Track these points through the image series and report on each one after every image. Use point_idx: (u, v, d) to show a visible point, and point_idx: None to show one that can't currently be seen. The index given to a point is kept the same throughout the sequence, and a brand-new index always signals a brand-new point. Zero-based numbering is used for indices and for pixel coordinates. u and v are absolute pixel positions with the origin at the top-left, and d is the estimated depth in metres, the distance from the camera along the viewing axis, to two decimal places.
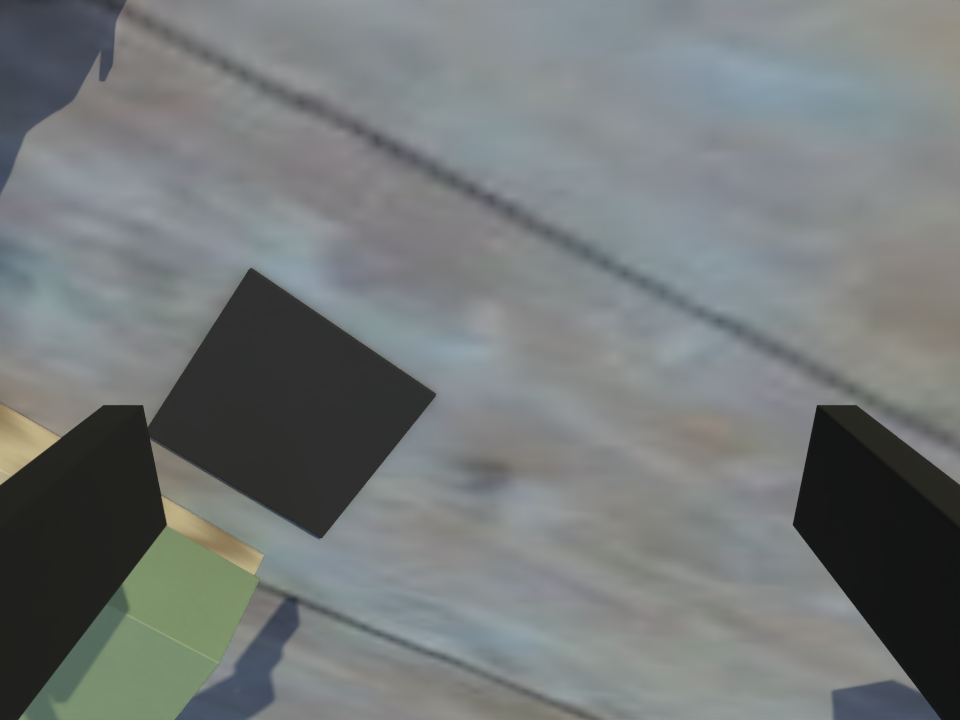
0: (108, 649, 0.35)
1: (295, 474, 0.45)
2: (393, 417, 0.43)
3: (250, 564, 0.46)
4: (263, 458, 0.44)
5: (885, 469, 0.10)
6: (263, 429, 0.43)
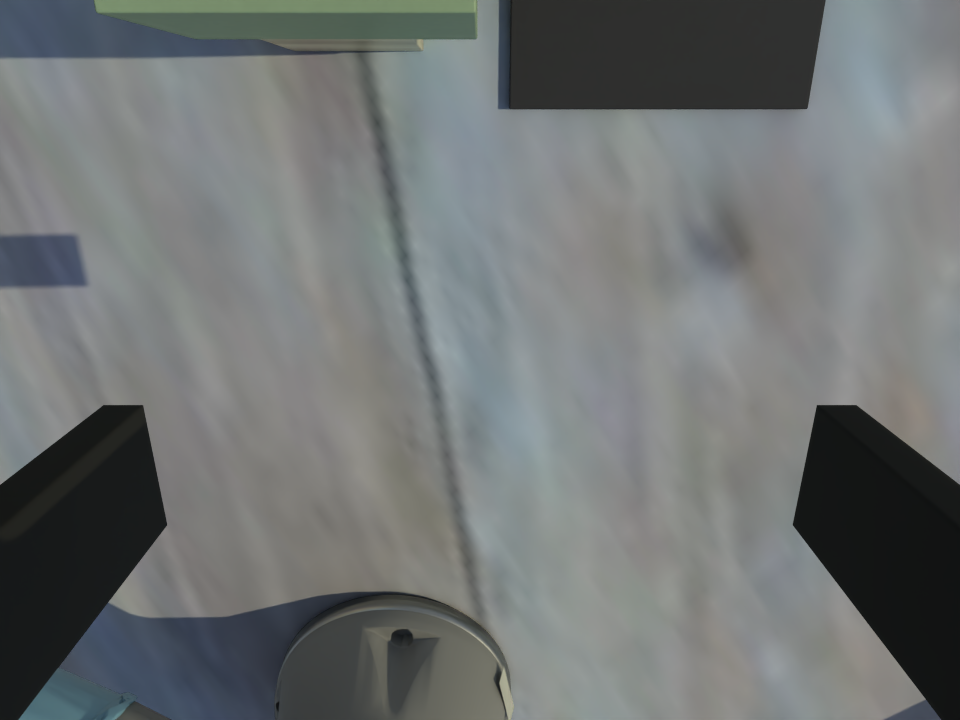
0: None
1: (586, 7, 0.29)
2: (749, 78, 0.30)
3: None
4: None
5: (885, 469, 0.10)
6: None
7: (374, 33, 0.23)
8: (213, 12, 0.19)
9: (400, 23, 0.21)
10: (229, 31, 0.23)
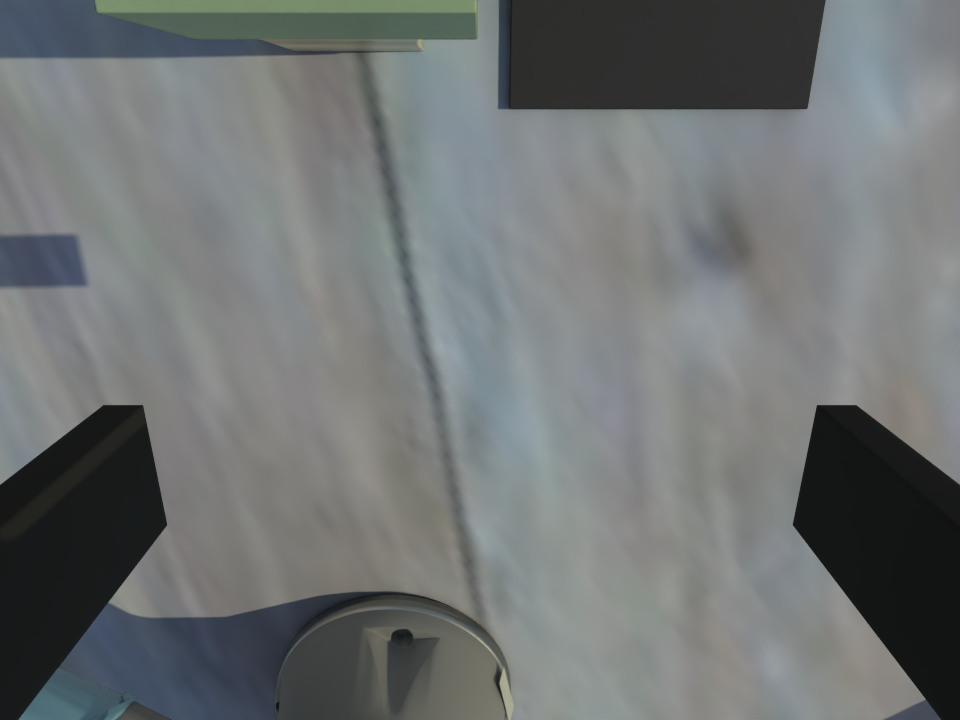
0: None
1: (586, 7, 0.29)
2: (749, 78, 0.30)
3: None
4: None
5: (885, 469, 0.10)
6: None
7: (374, 33, 0.23)
8: (214, 12, 0.19)
9: (401, 23, 0.21)
10: (229, 31, 0.23)
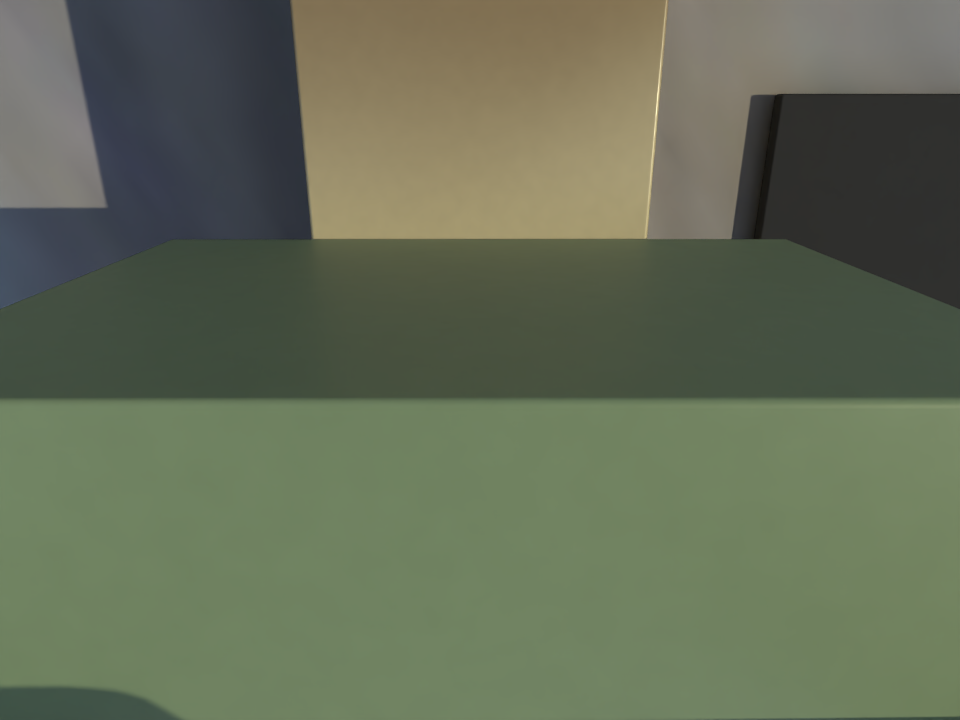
0: None
1: None
2: None
3: None
4: None
5: None
6: None
7: None
8: None
9: None
10: None
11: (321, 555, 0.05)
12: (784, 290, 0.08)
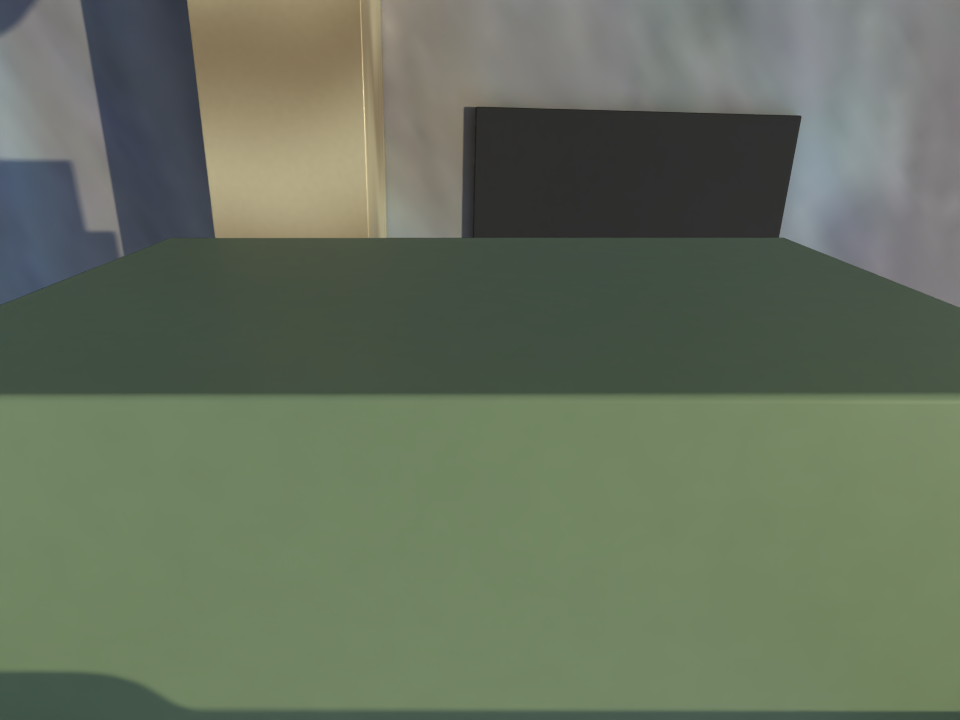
0: None
1: None
2: None
3: None
4: None
5: None
6: None
7: None
8: None
9: None
10: None
11: (316, 550, 0.05)
12: (781, 288, 0.08)
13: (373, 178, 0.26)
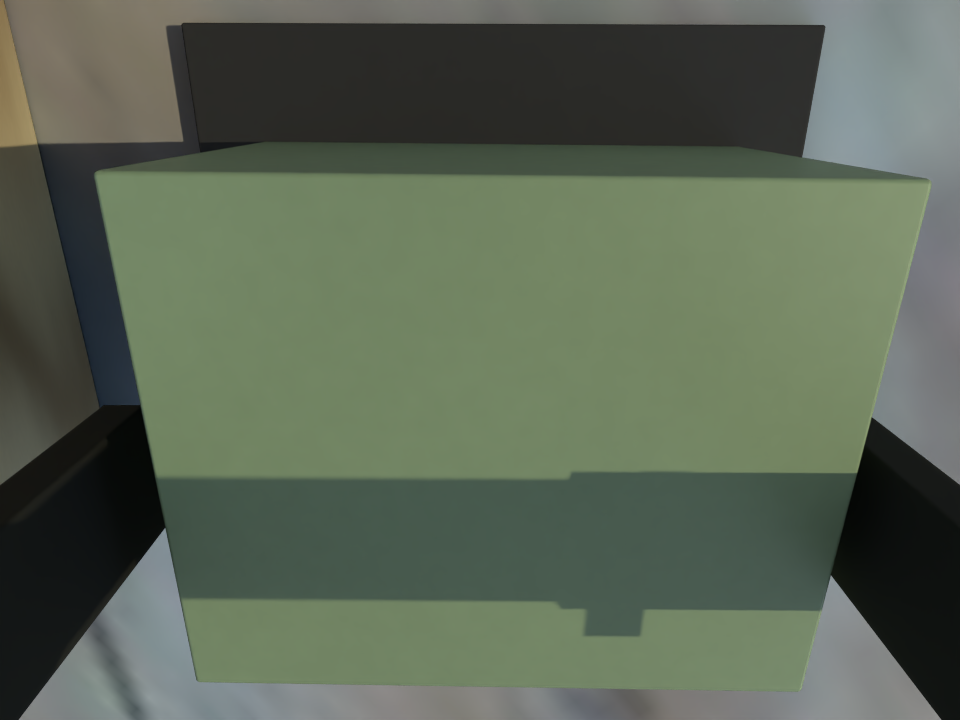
0: (687, 429, 0.10)
1: None
2: None
3: None
4: None
5: (885, 469, 0.10)
6: None
7: None
8: (382, 683, 0.12)
9: None
10: None
11: (411, 280, 0.09)
12: (719, 158, 0.11)
13: None
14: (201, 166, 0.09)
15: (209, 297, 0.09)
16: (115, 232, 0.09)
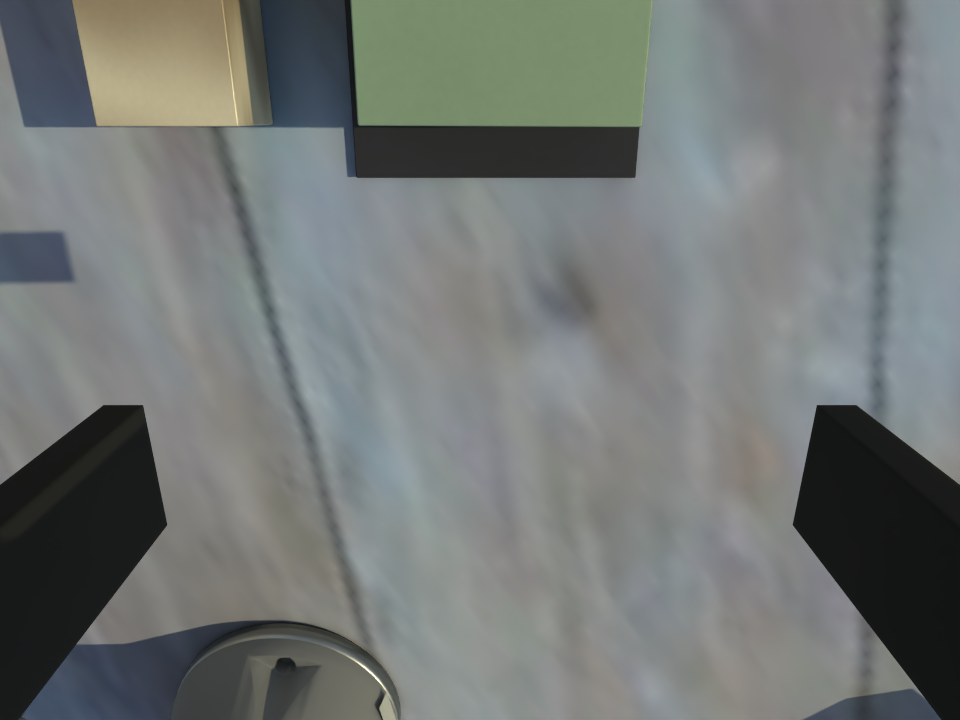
0: None
1: None
2: (577, 149, 0.32)
3: (261, 111, 0.30)
4: None
5: (885, 469, 0.10)
6: None
7: None
8: (445, 125, 0.25)
9: None
10: None
11: None
12: None
13: None
14: None
15: None
16: None
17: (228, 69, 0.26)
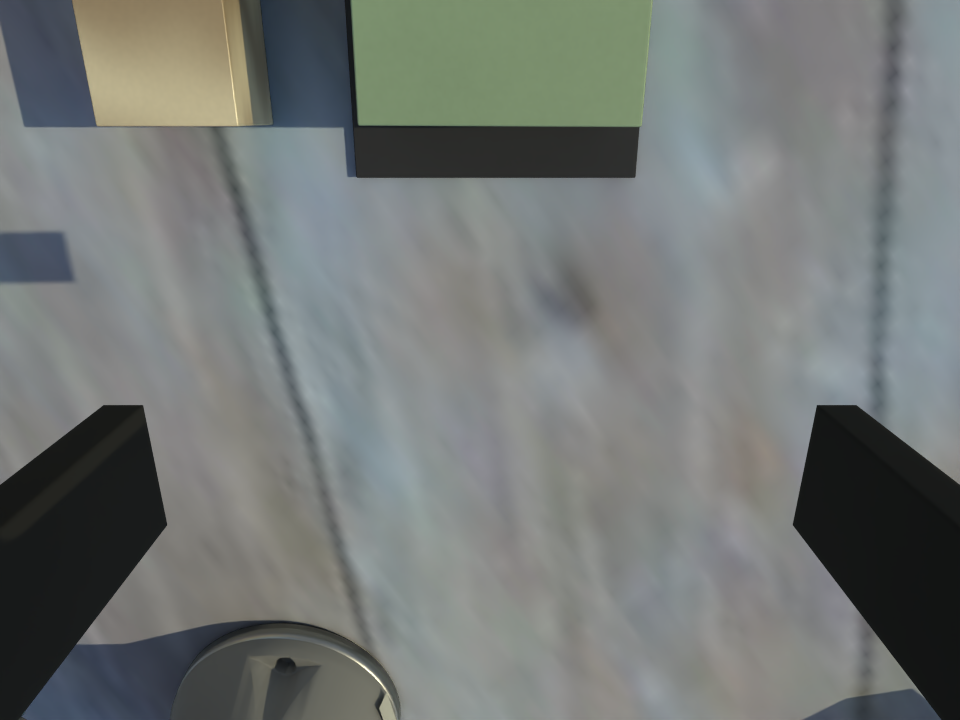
0: None
1: None
2: (577, 149, 0.32)
3: (262, 111, 0.30)
4: None
5: (885, 469, 0.10)
6: None
7: None
8: (445, 125, 0.25)
9: None
10: None
11: None
12: None
13: None
14: None
15: None
16: None
17: (228, 69, 0.26)
